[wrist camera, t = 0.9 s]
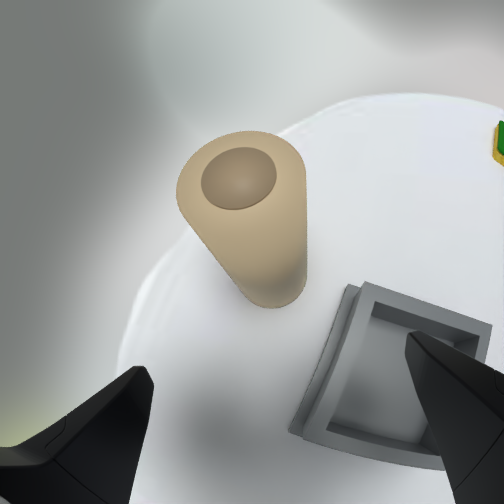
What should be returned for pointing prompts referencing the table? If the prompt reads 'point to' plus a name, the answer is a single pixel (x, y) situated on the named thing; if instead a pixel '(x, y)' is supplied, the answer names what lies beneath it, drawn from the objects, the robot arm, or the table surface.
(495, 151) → the dish sponge
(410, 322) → the square tray
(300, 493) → the table surface
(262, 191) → the paper roll
